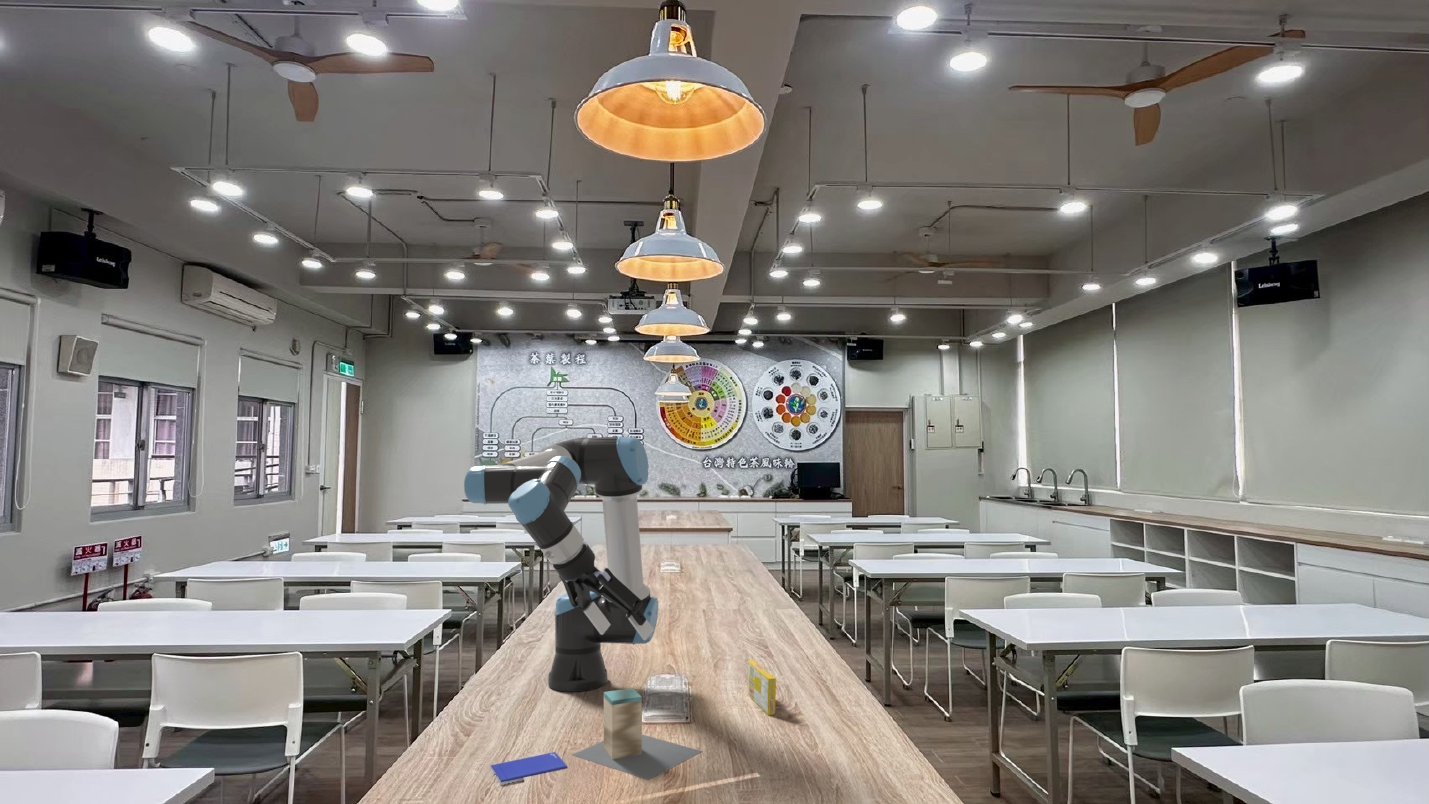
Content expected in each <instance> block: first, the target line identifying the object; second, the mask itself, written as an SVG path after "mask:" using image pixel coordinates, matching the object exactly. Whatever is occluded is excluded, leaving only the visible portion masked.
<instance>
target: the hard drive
mask: <svg viewBox="0 0 1429 804" xmlns="http://www.w3.org/2000/svg"><path fill="white" fill-rule="evenodd" d="M491 769H492V771H493V772H492V771H491V772H492V774H493V773H494V774H495V775H496V777H495V779H496V778H497V779H498V780H497V779H496V780H497V781H499V782H498V783H499V785H500V786H505V785H504V784H506V785H509V784H508V783H510V784H513V783H512V782H515V783H517V782H516V781H520V782H522V781H521V780H524V781H525V778H526V777H531V776H532V777H533V776H536V775H540V774H546V773H550V772H554V771H559V770H564V769H568V765H567V763H565V761H564V760H563V759H562V758H561V757H560V756H559V754H558V753H557V752H555V751H552V752H548V753H543V754H538V755H533V756H529V757H528V756H527V757H524V758H519V759H514V760H510V761H505V762H502V763H496V764H491V765H490V770H491ZM494 774H493V775H494ZM495 775H494V776H495Z"/></svg>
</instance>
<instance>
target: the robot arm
mask: <svg viewBox="0 0 1429 804" xmlns="http://www.w3.org/2000/svg"><path fill="white" fill-rule="evenodd" d="M648 480H649V461H648V454H647V451H646V448H645V446H644V444H643V443H642V441H641V440H640V439H639V438H637V437H630V436H629V437H628V436H626V437H625V436H601V437H599V436H596V437H576V438H571V439H567V440H564V441H559V442H557V443H553V444H550V445H548V446H545V447H543V448H542V449H541V450H540V451H539V452H538V453H534V454H530V455H528V456H525V457H521V458H518V459H517V458H516V459H514V460H510V461H507V462H505V463H499V464H496V465H495V464H494V465H486V464H485V465H484V464H483V465H478V466H472V467H470V468H469V469H468V470H467V472H466V474H465V477H464V480H463V481H464V483H463V487H464V490H463V491H464V495H465V497H466V499H467V500H468V501H469V502H470V503H473V504H483V505H489V504H490V505H491V504H493V505H494V504H503V505H504V504H507V505H508V508H509V509H510V510H511V511H512V513H513V515H514V516H515V519H516V521H517V522H518V523H520V525H521V526H522V527H523V528H524V530H525V531H526V532H527V533H528V535H529V536H530V537H531V538H532V540H533V542H535V544H536V545H537V547H538V548H539V549H540V550H541V552H542V553H543V557H544V558H545V560H546V559H547V560H548V561H549V562H550V564H552V566H553V569H554V570H555V572H556V573H557V574H558V577H559V579H560V580H561V582H562V583H563V586H564V589H565V591H566V593H564V594H563V595H560V596H559V597H558V598H557V599H556V601H555V613H554V623H555V624H554V629H555V630H554V631H555V632H554V635H555V636H554V637H555V638H554V642H555V644H554V645H555V648H554V649H555V654H554V658H553V661H552V665H551V669H550V672H549V673H548V677H547V681H548V682H547V683H548V687H549V688H550V689H552V690H554V691H561V692H582V691H583V692H584V691H585V692H586V691H590V690H594V689H598V688H601V687H603V686H605V685H606V684H607V683H608V680H609V679H608V670H607V669H606V665H605V661H604V657H603V655H602V652H601V647H602V645H601V644H624V645H625V644H627V645H640V644H641V645H644V644H648V643H649V642H651V640H652V639H653V637H654V634H655V632H656V629H657V628H656V627H657V624H658V623H657V621H658V617H659V616H658V615H659V601H658V598H657V597H656V596H655V597H654V596H652V595H651V589H650V587H649V586H647V584H645V583H644V576H643V575H644V574H643V562H642V549H641V536H640V535H641V534H640V523H639V521H640V520H639V509H638V506H639V505H638V495H639V494H640V493H641V491H642V490H643V485H644V484H646V483H647V482H648ZM579 485H593V486H594V491H595V495H597V496H598V497H599V498H601V500H602V512H603V522H604V523H603V524H604V534H605V535H604V536H605V547H606V559H607V567H605V566H604V568H603V569H602V570H600V569H598V568H597V567H596V566H595V560H596V555H595V553H594V551H593V550H592V549H591V546H589V544H588V543H587V541H585V538H583V536H582V534H581V533H580V532H579V531H578V528H577V527H576V526H575V524H574V523H573V522H572V520H571V519H570V518H569V517H568V516H567V514H566V512H565V511H566V509H567V506H569V503H570V501H571V499H572V498H573V496H574V494H575V493H576V491H577V490H578V486H579Z"/></svg>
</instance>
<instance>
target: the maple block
mask: <svg viewBox="0 0 1429 804" xmlns="http://www.w3.org/2000/svg"><path fill="white" fill-rule="evenodd" d="M642 698H643V697H642V695H641V694H640V693H638V692H637V690H635V689H634V688H632V687H631V688H625V689H618V690H617V689H616V690H609V691H603V741H604V749H605V751H606V752H607V753H608V755H609V756H610V757H611V758H612V759H617V758H623V757H628V756H634V755H640V754H642V735H643V728H642V727H643V726H642V725H643V724H642V723H643V722H642V721H643V719H642V717H643V716H642V715H643V710H642V707H643V706H642V705H643V703H642Z"/></svg>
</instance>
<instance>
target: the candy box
mask: <svg viewBox="0 0 1429 804" xmlns="http://www.w3.org/2000/svg"><path fill="white" fill-rule="evenodd" d="M776 684H777V678H776V677H775V676H773V674H771V673H769V672H768V671H767V670H766V669H765V668H764V667H762V666H761V665H760V664H759V663H758V662H757V661H755V660H748V661H747V695H748V696H749V697H750V698H751V699H752V701H754V702H755V704H756V705H757V706H758V707H759V708H760V709H761V710H762V711H763V712H764V713H765V714H766V715H767V716H775V715H776V701H777V700H776V696H777V692H776V690H777V685H776Z"/></svg>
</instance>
